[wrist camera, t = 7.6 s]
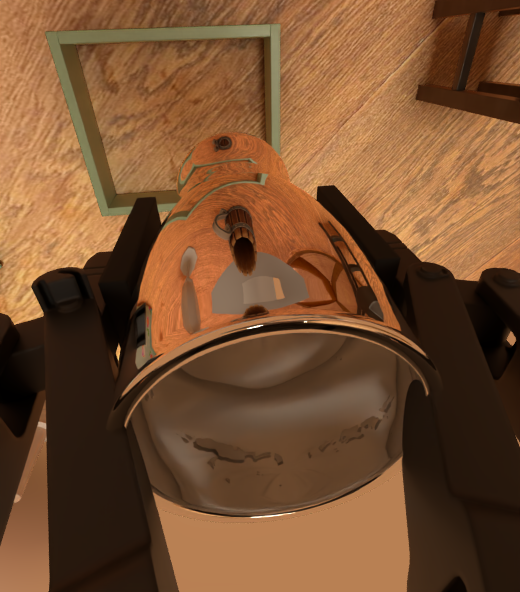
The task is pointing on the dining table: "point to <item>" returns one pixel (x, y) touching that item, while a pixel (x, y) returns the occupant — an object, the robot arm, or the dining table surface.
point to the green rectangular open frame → (69, 59)
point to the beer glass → (261, 348)
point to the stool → (490, 95)
